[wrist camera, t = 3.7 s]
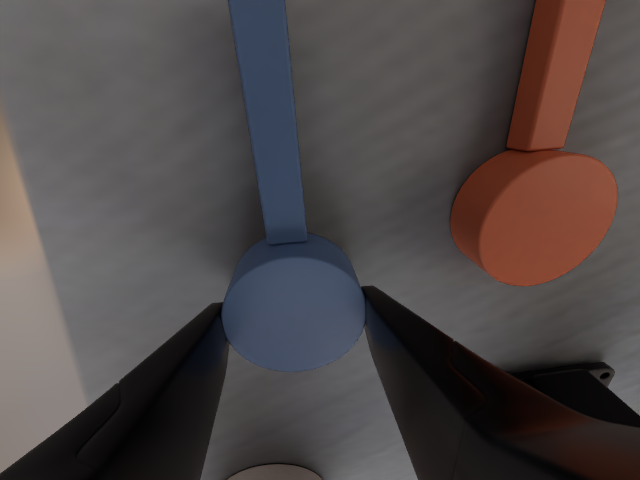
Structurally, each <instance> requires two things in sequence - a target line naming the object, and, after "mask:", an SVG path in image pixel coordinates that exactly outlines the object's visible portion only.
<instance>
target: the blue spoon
mask: <svg viewBox="0 0 640 480" xmlns="http://www.w3.org/2000/svg"><path fill="white" fill-rule="evenodd" d="M228 5H229V11H230V18H231V24H232V30H233V36H234V42H235V48H236V54H237V60H238V67H239V73H240V79H241V85H242V91H243V97H244V103H245V110H246V116H247V122H248V128H249V134H250V140H251V146H252V152H253V159H254V165H255V171H256V177H257V183H258V189H259V195H260V201H261V208H262V214H263V220H264V226H265V232H266V238H265V239H263V240H261V241H259V242H258V243H256V244H255V245H253V246H252V247H251V248H249V249H248V250H247V251H246V252H245V254H244V255H243V256H242V257H241V259H240V260H239V262H238V264H237V266H236V268H235V270H234V273H233V276H232V279H231V282H230V285H229V287H228V290H227V293H226V296H225V299H224V302H223V305H222V311H221V318H222V323H223V327H224V331H225V334H226V337H227V339H228V341H229V343H230V344H231V345H232V347H233V348H234V349H235V350H236V351H237V352H238V353H239V354H240V355H241V356H243V357H244V358H245V359H247V360H248V361H250V362H252V363H254V364H256V365H258V366H261V367H264V368H267V369H270V370H275V371H283V372H299V371H307V370H312V369H316V368H319V367H322V366H324V365H327V364H329V363H331V362H333V361H335V360H336V359H338V358H340V357H341V356H342V355H344V354H345V353H346V352H347V351H348V350H349V349H350V348H351V347H352V346H353V345H354V344H355V343H356V341H357V340H358V338H359V337H360V335H361V333H362V331H363V328H364V325H365V297H364V294H363V292H362V289H361V287H360V284H359V282H358V279H357V277H356V274H355V272H354V269H353V267H352V264H351V262H350V260H349V259H348V257H347V256H346V254H345V253H344V252H343V251H342V250H341V249H340V248H339V247H338V246H337V245H335V244H334V243H332V242H331V241H329V240H327V239H325V238H323V237H321V236H318V235H315V234H310V233H307V228H306V217H305V207H304V196H303V186H302V175H301V165H300V154H299V144H298V133H297V123H296V112H295V102H294V91H293V81H292V70H291V59H290V49H289V38H288V28H287V17H286V7H285V0H228Z"/></svg>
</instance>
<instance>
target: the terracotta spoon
mask: <svg viewBox="0 0 640 480" xmlns="http://www.w3.org/2000/svg"><path fill="white" fill-rule="evenodd" d="M605 2H606V0H536V3H535V8H534V13H533V18H532V23H531V28H530V33H529V38H528V43H527V47H526V52H525V57H524V62H523V67H522V72H521V77H520V82H519V87H518V92H517V96H516V101H515V106H514V111H513V116H512V121H511V126H510V131H509V136H508V140H507V148H510V149H511V150H508V151H505V152H503V153H500V154H498V155H496V156H494V157H493V158H491V159H489V160H488V161H486V162H485V163H483V164H482V165H481V166H480V167H479V168H477V169H476V170H475V171H474V172H473V173H472V174H471V175H470V176H469V177H468V179H467V180H466V181H465V183H464V184H463V186H462V187H461V189H460V190H459V192H458V194H457V196H456V199H455V201H454V204H453V207H452V211H451V219H450V226H451V233H452V237H453V239H454V242H455V244H456V245H457V247H458V248H459V249H460V251H461V252H462V253H464V254H465V255H466V256H467V257H468V258H470V259H471V260H472V261H473V262H474V263H476V264H477V265H478V266H479V267H481V268H482V269H483V270H484V271H485V272H487V273H488V274H489V275H490V276H492V277H493V278H494V279H496V280H498V281H500V282H502V283H505V284H509V285H514V286H531V285H537V284H541V283H545V282H548V281H550V280H553V279H555V278H557V277H559V276H562V275H563V274H565V273H567V272H568V271H570V270H572V269H573V268H574V267H576V266H577V265H579V264H580V263H581V262H582V261H583V260H585V259H586V258H587V257H588V256H589V255H590V254H591V253H592V252H593V251H594V249H595V248H596V247H597V246H598V245H599V243H600V242H601V241H602V239H603V238H604V236H605V235H606V233H607V231H608V230H609V228H610V225H611V223H612V221H613V218H614V215H615V212H616V208H617V202H618V190H617V185H616V181H615V178H614V176H613V174H612V173H611V171H610V170H609V169H608V167H606V166H605V165H604V164H603V163H602V162H601V161H599V160H597V159H595V158H593V157H590V156H587V155H583V154H576V153H569V152H563V151H556V150H552V149H560V148H563V147H564V145H565V141H566V138H567V134H568V131H569V127H570V124H571V120H572V117H573V113H574V110H575V106H576V103H577V100H578V96H579V93H580V89H581V86H582V82H583V79H584V75H585V72H586V68H587V65H588V61H589V58H590V54H591V51H592V47H593V44H594V40H595V37H596V33H597V30H598V26H599V23H600V20H601V16H602V13H603V9H604V6H605Z"/></svg>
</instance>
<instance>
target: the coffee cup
mask: <svg viewBox="0 0 640 480" xmlns="http://www.w3.org/2000/svg"><path fill="white" fill-rule="evenodd" d="M227 480H322V479H321V478H320V477H319V476H318V475H317V474H315V473H314V472H312V471H310V470H308V469H305V468H302V467H299V466H294V465H285V464H272V465H263V466H257V467H253V468H249V469H246V470H244V471H241V472H239V473H237V474H235V475H233V476H231V477H230V478H229V479H227Z"/></svg>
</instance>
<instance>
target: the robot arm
mask: <svg viewBox="0 0 640 480" xmlns="http://www.w3.org/2000/svg"><path fill="white" fill-rule="evenodd" d="M361 289H362V292H363V294H364V297H365V325H364V327H365V331H366V335H367V339H368V343H369V348H370V351H371V355H372V358H373V361H374V364H375V366H376V369H377V372H378V374H379V377H380V379H381V382H382V385H383V387H384V390H385V393H386V395H387V398H388V401H389V403H390V406H391V409H392V411H393V414H394V417H395V419H396V422H397V425H398V427H399V430H400V433H401V435H402V438H403V441H404V443H405V446H406V449H407V451H408V454H409V456H410V459H411V462H412V464H413V467H414V470H415V472H416V475H417V478H418V480H640V416H639V415H638V414H637V413H636V412H635V411H633V410H632V409H631V408H630V407H629V406H628V405H627V404H625V403H624V402H623V401H622V400H621V399H620V398H619V397H617V396H616V395H615V394H614V393H613V392H612V391H610V390H609V389H608V388H607V387H608V385H609V383H610V381H611V379H612V377H613V376H614V373H615V371H614V369H612V368H611V367H610V366H609V365H607V364H606V363H604V362H597V363H589V364H582V365H574V366H567V367H559V368H552V369H544V370H537V371H529V372H522V373H514V374H508V373H506V372H504V371H503V370H501V369H499V368H498V367H496V366H494V365H493V364H491V363H489V362H487V361H486V360H484V359H483V358H481V357H479V356H478V355H476V354H475V353H473V352H472V351H470V350H469V349H467V348H466V347H464V346H463V345H461V344H460V343H458V342H457V341H454V340H453V339H452V338H450V337H449V336H448V335H446V334H445V333H443V332H442V331H440V330H439V329H437V328H436V327H434V326H433V325H431V324H430V323H428V322H427V321H425V320H424V319H422V318H421V317H419V316H418V315H416V314H415V313H413V312H412V311H410V310H409V309H407V308H406V307H404V306H403V305H401V304H400V303H398V302H397V301H395V300H394V299H393V298H391V297H390V296H388V295H387V294H385V293H384V292H382V291H381V290H379V289H378V288H376V287H375V286H372V285H371V286H363V287H361ZM222 305H223V302H219V303H212V304H211V305H209V306H208V307H207V308H206V309H204V310H203V311H202V312H201V313H200V314H199V315H197V316H196V317H195V318H194V319H193V320H191V321H190V322H189V323H188V324H187V325H185V326H184V327H183V328H182V329H181V330H180V331H178V332H177V333H176V334H175V335H174V336H172V337H171V338H170V339H169V340H168V341H166V342H165V343H164V344H163V345H162V346H160V347H159V348H158V349H157V350H156V351H155V352H153V353H152V354H151V355H150V356H149V357H147V358H146V359H145V360H144V361H143V362H141V363H140V364H139V365H138V366H137V367H135V368H134V369H133V370H132V371H131V372H129V373H128V374H127V375H126V376H125V377H124V378H122V379H121V380H120V381H119V383H116V384H115V385H114V386H113V387H112V388H110V389H109V390H108V391H107V392H106V393H104V394H103V395H102V396H101V397H100V398H98V399H97V400H96V401H95V402H93V403H92V404H91V405H90V406H88V407H87V408H86V409H85V410H84V411H82V412H81V413H80V414H78V415H77V416H76V417H75V418H73V419H72V420H71V421H69V422H68V423H67V424H65V425H64V426H63V427H62V428H60V429H59V430H58V431H56V432H55V433H54V434H52V435H51V436H50V437H48V438H47V439H46V440H45V441H43V442H42V443H40V444H39V445H38V446H36V447H35V448H34V449H33V450H31V451H30V452H28V453H27V454H26V455H24V456H23V457H22V458H20V459H19V460H18V461H16V462H15V463H14V464H12V465H11V466H10V467H8V468H7V469H6V470H4V471H3V472H2V473H0V480H200V477H201V473H202V469H203V465H204V461H205V457H206V453H207V449H208V445H209V441H210V436H211V432H212V428H213V424H214V420H215V416H216V412H217V408H218V404H219V400H220V396H221V391H222V387H223V383H224V379H225V374H226V368H227V360H228V352H229V344H230V343H229V341H228V339H227V337H226V334H225V331H224V327H223V323H222V318H221V311H222Z"/></svg>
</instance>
